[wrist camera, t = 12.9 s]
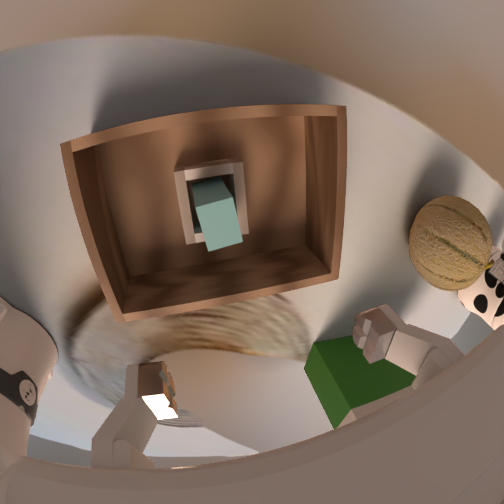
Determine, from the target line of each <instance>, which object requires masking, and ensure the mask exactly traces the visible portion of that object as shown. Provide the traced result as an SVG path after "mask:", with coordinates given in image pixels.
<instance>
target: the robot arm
mask: <svg viewBox="0 0 504 504" xmlns="http://www.w3.org/2000/svg"><path fill="white" fill-rule="evenodd" d="M355 321H356V322H357V324H356V325H355V326H354V327H353V331H352V335H353V340H354V342H355V344H356V345H357V347H359V348H361V349H363V355H364V357H365V358H366V359H367V361H368V362H369V363H370V364H371V363H373V362H376V361H378V360H381V359H383V358H385V359H386V360H388V361H390V362H392V363H394V364H396V365H397V366H399V367H401V368H403V369H405V370H406V371H408V372H410V373H412V374H414V375H416V377H415V379H414V380H413V382H412V385H411V386H412V387H413V389H414V390H413V391H411V392H410V393H408V394H406V395H405V396H403V397H401V398H399V399H397V400H396V401H394V402H392V403H390V404H388V405H386V406H384V407H382V408H380V409H379V410H377V411H375V412H372V413H370V414H368V415H366V416H364V417H362V418H360V419H358V420H355V421H353V422H351V423H349V424H346V425H344V426H341V427H339V428H337V429H334V430H332V431H329V432H326V433H324V434H321V435H318V436H316V437H313V438H310V439H307V440H304V441H301V442H298V443H295V444H292V445H289V446H285V447H282V448H278V449H275V450H271V451H268V452H263V453H259V454H255V455H251V456H247V457H242V458H237V459H232V460H227V461H221V462H216V463H209V464H202V465H194V466H185V467H175V468H159V469H155V466H154V462H152V461H151V460H150V459H149V458H147V457H146V456H145V455H144V454H143V451H144V449H145V447H146V445H147V443H148V441H149V439H150V437H151V435H152V433H153V431H154V429H155V427H156V425H157V423H158V420H160V419H167V418H174V417H178V413H177V404H176V402H175V400H174V398H173V397H174V396H175V387H174V382H173V379H172V376H171V374H170V373H169V372H167V366H166V364H165V362H164V361H160V362H151V363H141V364H133V365H128V366H127V368H126V379H125V396H124V399H121V400H120V401H119V403H118V404H117V405H116V407H115V408H114V409H113V411H112V412H111V413H110V415H109V416H108V418H107V419H106V420H105V422H104V423H103V424H102V426H101V427H100V429H99V430H98V431H97V433H96V434H95V435H94V437H93V438H92V453H91V467H82V466H74V465H66V464H60V463H54V462H48V461H44V460H39V459H35V458H30V457H26V452H27V444H28V437H29V431H30V426H32V425H33V424H34V420H35V418H36V412H37V407H38V402H39V400H40V397H41V395H42V392H43V390H44V387H45V385H46V382H47V380H48V379H50V378H51V376H52V369H53V367H54V365H55V364H56V362H57V360H58V352H57V348H56V346H55V344H54V342H53V340H52V339H51V337H50V336H49V334H48V333H47V332H46V331H45V330H44V329H43V328H42V327H41V326H40V325H39V324H38V323H37V322H36V321H35V320H33V319H32V318H31V317H29V316H28V315H26V314H25V313H23V312H21V311H19V310H17V309H15V308H13V307H12V306H10V305H9V304H8V303H7V302H6V301H5V300H4V299H3V298H1V297H0V504H504V324H503V325H500V326H499V327H498V328H497V329H496V330H495V331H493V332H492V333H491V334H490V335H489V336H488V337H487V338H485V339H484V340H483V341H482V342H481V343H480V344H478V345H477V346H476V347H475V348H473V349H472V350H471V351H470V352H468V353H467V354H466V355H464V354H463V353H462V352H461V351H460V349H458V347H457V346H456V345H455V344H454V343H453V342H452V341H451V340H450V339H449V338H446V337H443V336H440V335H438V334H435V333H432V332H429V331H427V330H424V329H421V328H418V327H416V326H413V325H410V324H408V325H406V324H405V323H404V321H403V320H402V319H401V318H400V317H399V316H398V315H397V314H396V313H395V312H394V311H393V310H392V309H391V308H390V307H389V306H388V305H386V304H384V305H381V306H378V307H376V308H372V309H369V310H367V311H364V312H361V313H358V314H357V315H356V318H355Z"/></svg>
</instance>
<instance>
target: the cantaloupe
mask: <svg viewBox="0 0 504 504" xmlns="http://www.w3.org/2000/svg"><path fill="white" fill-rule="evenodd" d="M492 245H493V242H492V233H491V229H490V227H489V225H488V223H487V221H486V219H485V217H484V216H483V214H482V213H481V212H480V211H479V209H478V208H476V207H475V206H474V205H473V204H471V203H470V202H469V201H466V200H464V199H462V198H460V197H456V196H442V197H438V198H435V199H433V200H431V201H430V202H428V203H427V204H426V205H424V206H423V207H422V208H421V209H420V210H419V212H418V213H417V215H416V217H415V220H414V222H413V225H412V227H411V230H410V235H409V255H410V258H411V261H412V263H413V265H414V267H415V268H416V270H417V271H418V273H419V274H420V275H421V276H422V277H423V279H425V280H426V281H427V282H428V283H430V284H431V285H432V286H434V287H437V288H439V289H442V290H446V291H458V290H462V289H466V288H468V287H469V286H471V285H472V284H474V283H475V282H476V281H477V279H478V278H479V277H480V276H481V275H482V273H483V272H484V271H485V270H486V269H488V268H490V267H491V266H492V265H493V264H494V262H495V261H494V260H493V259H492V260H491V261H490V262H489V257H490V255H491V250H492Z"/></svg>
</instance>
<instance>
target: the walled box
mask: <svg viewBox="0 0 504 504" xmlns="http://www.w3.org/2000/svg"><path fill="white" fill-rule="evenodd" d="M60 146H61V152H62V157H63V162H64V167H65V172H66V177H67V181H68V186H69V190H70V194H71V198H72V202H73V205H74V209H75V213H76V216H77V220H78V223H79V226H80V229H81V233H82V236H83V239H84V242H85V245H86V248H87V251H88V254H89V256H90V259H91V262H92V265H93V267H94V270H95V272H96V275H97V278H98V280H99V283H100V285H101V288H102V290H103V292H104V295H105V297H106V299H107V302H108V304H109V306H110V308H111V311H112V313H113V315H114V317H115V319H116V321H117V323H118V322H125V321H132V320H139V319H145V318H151V317H158V316H164V315H170V314H176V313H181V312H187V311H193V310H198V309H203V308H209V307H214V306H219V305H224V304H229V303H234V302H239V301H244V300H249V299H254V298H259V297H263V296H268V295H272V294H277V293H282V292H286V291H290V290H295V289H299V288H303V287H308V286H312V285H316V284H320V283H324V282H328V281H332V280H336V279H338V277H339V269H340V260H341V250H342V239H343V227H344V213H345V195H346V168H347V116H346V106H336V105H312V104H277V105H253V106H238V107H227V108H217V109H208V110H200V111H193V112H186V113H180V114H174V115H168V116H162V117H157V118H152V119H147V120H143V121H138V122H134V123H129V124H125V125H121V126H117V127H113V128H110V129H106V130H102V131H99V132H96V133H92V134H89V135H86V136H82V137H79V138H76V139H73V140H70V141H67V142H65V143H62V144H60ZM218 176H220V178H221V180H222V181H223V183H224V184H225V186H226V187H227V189H228V190H229V192H230V194H231V195H232V197H233V200H234V205H235V209H236V213H237V218H238V222H239V226H240V231H241V235H242V239H243V242H240V243H237V244H233V245H230V246H226V247H223V248H219V249H216V250H212V251H209V252H208V249H207V245H206V242H205V239H204V235H203V232H202V229H201V225H200V222H199V219H198V215H197V212H196V208H195V202H194V196H193V189H192V184H193V183H196V182H200V181H204V180H207V179H211V178H215V177H218Z"/></svg>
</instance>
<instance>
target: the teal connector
mask: <svg viewBox="0 0 504 504" xmlns="http://www.w3.org/2000/svg"><path fill="white" fill-rule="evenodd" d="M192 189H193V196H194V202H195V208H196V212H197V215H198V219H199V222H200V225H201V229H202V232H203V235H204V239H205V242H206V245H207V249H208V252H209V251H212V250H216V249H219V248H223V247H226V246H230V245H233V244H237V243H240V242H243V239H242V235H241V231H240V226H239V222H238V218H237V213H236V209H235V205H234V200H233V197H232V195H231V194H230V192H229V190H228V189H227V187H226V186H225V184H224V183H223V181H222V180H221V178H220V176H218V177H215V178H211V179H207V180H204V181H200V182H196V183H193V184H192Z"/></svg>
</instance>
